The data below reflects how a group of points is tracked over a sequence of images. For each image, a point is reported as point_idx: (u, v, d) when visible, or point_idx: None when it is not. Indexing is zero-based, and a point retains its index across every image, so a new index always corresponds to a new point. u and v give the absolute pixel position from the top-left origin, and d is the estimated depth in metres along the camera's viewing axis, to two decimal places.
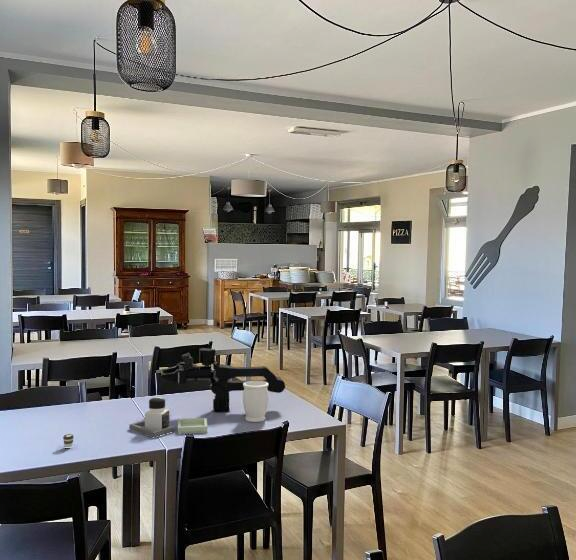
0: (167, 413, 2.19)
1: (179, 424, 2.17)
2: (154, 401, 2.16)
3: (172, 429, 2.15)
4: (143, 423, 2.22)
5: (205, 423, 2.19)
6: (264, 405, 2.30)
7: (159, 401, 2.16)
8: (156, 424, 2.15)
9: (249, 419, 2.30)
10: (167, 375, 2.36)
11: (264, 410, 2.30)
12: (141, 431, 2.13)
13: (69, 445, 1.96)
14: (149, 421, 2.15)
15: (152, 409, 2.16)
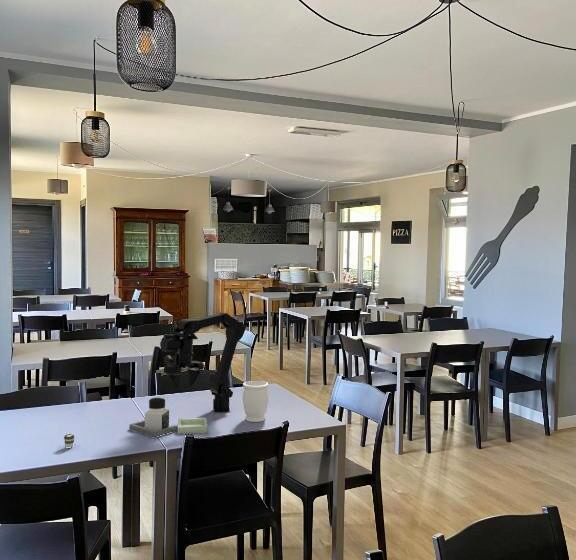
0: (167, 413, 2.19)
1: (179, 424, 2.17)
2: (154, 401, 2.16)
3: (172, 429, 2.15)
4: (143, 423, 2.22)
5: (205, 423, 2.19)
6: (264, 405, 2.30)
7: (159, 401, 2.16)
8: (156, 424, 2.15)
9: (249, 419, 2.30)
10: (173, 384, 2.27)
11: (264, 410, 2.30)
12: (141, 431, 2.13)
13: (70, 445, 1.96)
14: (149, 421, 2.15)
15: (152, 409, 2.16)
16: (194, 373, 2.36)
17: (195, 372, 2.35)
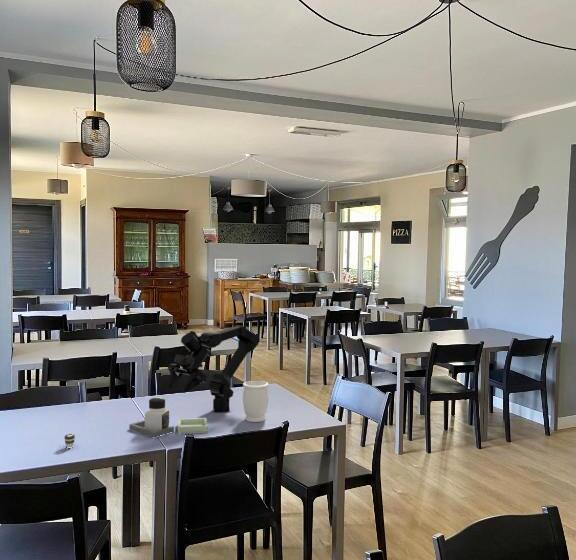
0: (167, 413, 2.19)
1: (179, 424, 2.17)
2: (154, 401, 2.16)
3: (172, 429, 2.15)
4: (143, 423, 2.22)
5: (205, 423, 2.19)
6: (264, 405, 2.30)
7: (159, 401, 2.16)
8: (156, 424, 2.15)
9: (249, 419, 2.30)
10: (187, 386, 2.23)
11: (264, 410, 2.30)
12: (141, 431, 2.13)
13: (70, 445, 1.96)
14: (149, 421, 2.15)
15: (152, 409, 2.16)
16: (177, 378, 2.32)
17: (178, 378, 2.33)
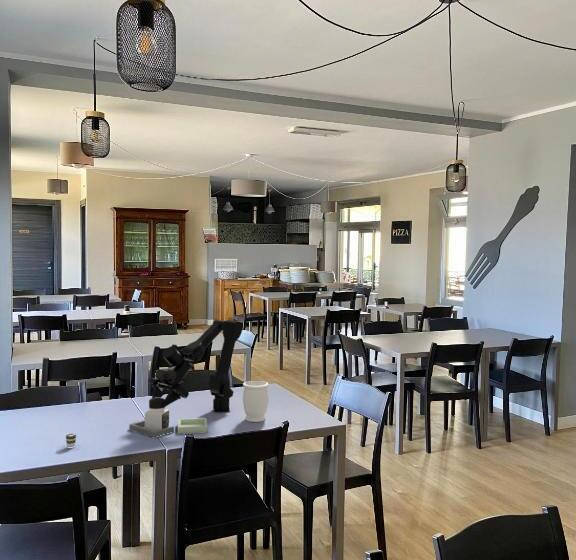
0: (167, 413, 2.19)
1: (179, 424, 2.17)
2: (154, 401, 2.16)
3: (172, 429, 2.15)
4: (143, 423, 2.22)
5: (205, 423, 2.19)
6: (264, 405, 2.30)
7: (159, 401, 2.16)
8: (156, 424, 2.15)
9: (249, 419, 2.30)
10: (166, 402, 2.16)
11: (264, 410, 2.30)
12: (141, 431, 2.13)
13: (72, 445, 1.96)
14: (149, 421, 2.15)
15: (152, 409, 2.16)
16: (160, 394, 2.24)
17: (162, 393, 2.24)
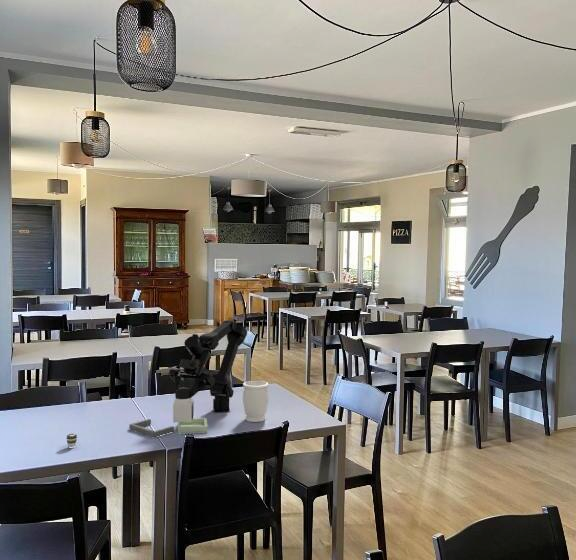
0: None
1: (179, 424, 2.17)
2: (182, 391, 2.16)
3: (172, 429, 2.15)
4: (143, 423, 2.22)
5: (205, 423, 2.19)
6: (264, 405, 2.30)
7: (187, 391, 2.16)
8: (186, 414, 2.15)
9: (249, 419, 2.30)
10: (194, 391, 2.18)
11: (264, 410, 2.30)
12: (141, 431, 2.13)
13: (72, 445, 1.97)
14: (178, 412, 2.15)
15: (181, 399, 2.16)
16: (182, 384, 2.24)
17: (183, 383, 2.25)
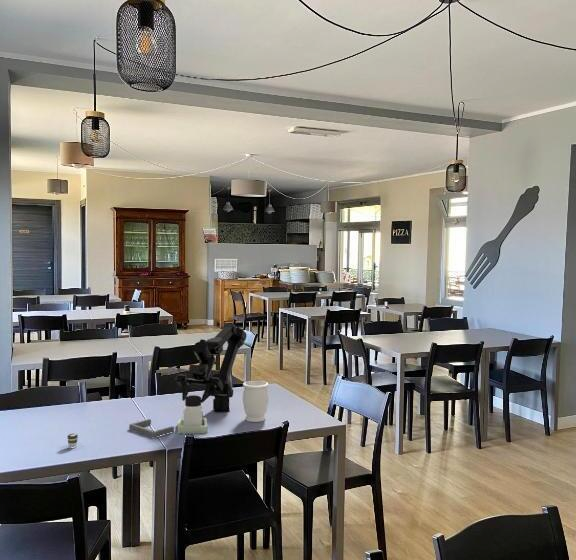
0: None
1: (179, 424, 2.17)
2: (193, 399, 2.17)
3: (172, 429, 2.15)
4: (143, 423, 2.22)
5: (205, 423, 2.19)
6: (264, 405, 2.30)
7: (198, 398, 2.18)
8: (196, 421, 2.17)
9: (249, 419, 2.30)
10: (205, 396, 2.19)
11: (264, 410, 2.30)
12: (141, 431, 2.13)
13: (73, 444, 1.97)
14: (189, 419, 2.16)
15: (191, 407, 2.17)
16: (188, 389, 2.25)
17: (188, 389, 2.26)
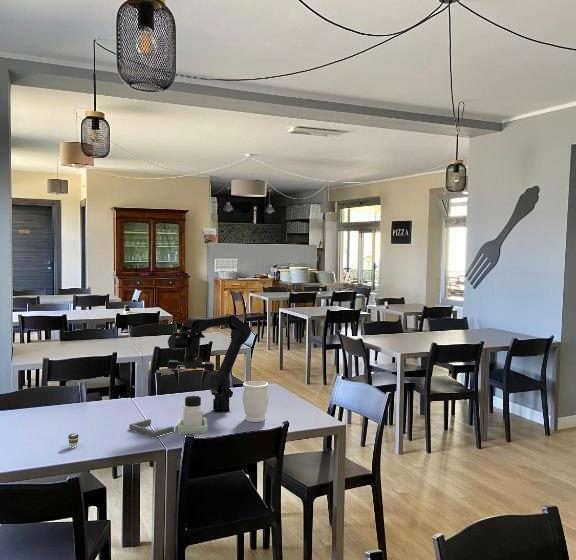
0: None
1: (179, 424, 2.17)
2: (193, 399, 2.17)
3: (172, 429, 2.15)
4: (143, 423, 2.22)
5: (205, 423, 2.19)
6: (264, 405, 2.30)
7: (197, 398, 2.18)
8: (196, 421, 2.17)
9: (249, 419, 2.30)
10: None
11: (264, 410, 2.30)
12: (141, 431, 2.13)
13: (74, 444, 1.97)
14: (188, 419, 2.16)
15: (191, 407, 2.17)
16: (178, 371, 2.34)
17: (178, 370, 2.35)
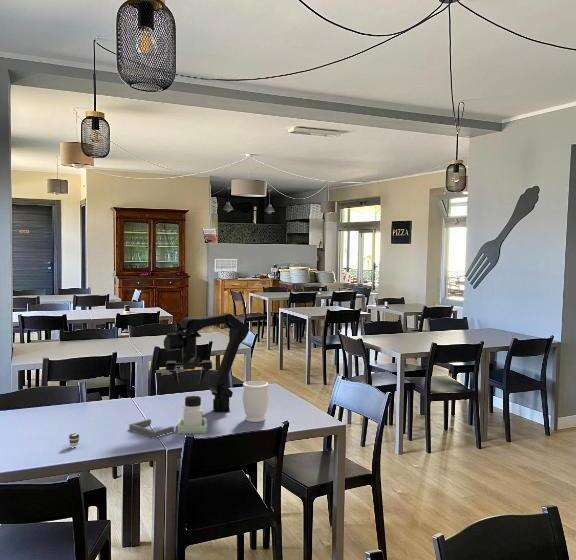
0: None
1: (179, 424, 2.17)
2: (193, 399, 2.17)
3: (172, 429, 2.15)
4: (143, 423, 2.22)
5: (205, 423, 2.19)
6: (264, 405, 2.30)
7: (197, 398, 2.18)
8: (196, 421, 2.17)
9: (249, 419, 2.30)
10: (202, 379, 2.35)
11: (264, 410, 2.30)
12: (141, 431, 2.13)
13: (75, 444, 1.97)
14: (188, 419, 2.16)
15: (191, 407, 2.17)
16: None
17: None
